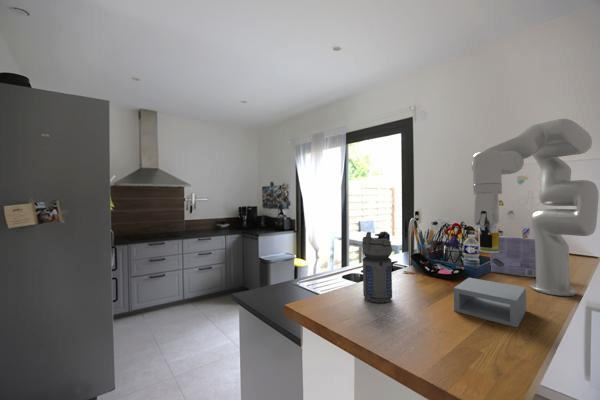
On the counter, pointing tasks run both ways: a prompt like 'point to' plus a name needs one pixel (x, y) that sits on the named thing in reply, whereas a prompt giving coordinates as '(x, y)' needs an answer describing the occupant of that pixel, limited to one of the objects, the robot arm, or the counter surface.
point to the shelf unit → (491, 301)
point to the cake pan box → (514, 257)
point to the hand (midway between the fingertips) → (488, 245)
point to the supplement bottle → (494, 241)
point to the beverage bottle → (377, 268)
